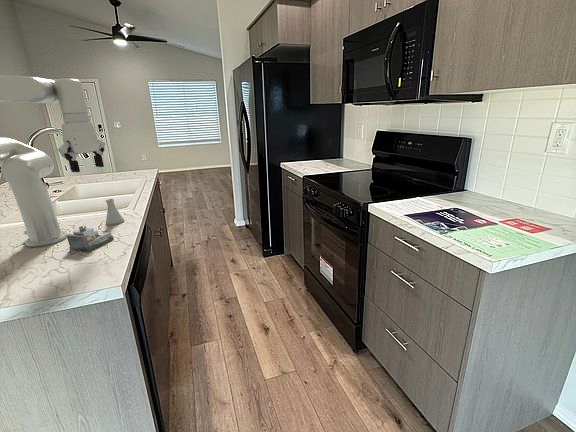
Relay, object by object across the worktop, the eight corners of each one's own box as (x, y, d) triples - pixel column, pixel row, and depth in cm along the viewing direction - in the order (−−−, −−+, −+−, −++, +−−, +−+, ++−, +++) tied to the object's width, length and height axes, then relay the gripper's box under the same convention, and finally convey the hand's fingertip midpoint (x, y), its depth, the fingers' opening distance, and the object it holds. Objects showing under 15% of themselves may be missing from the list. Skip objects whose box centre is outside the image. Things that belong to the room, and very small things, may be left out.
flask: (102, 222, 132) (97, 200, 128) (120, 218, 136) (115, 196, 133) (109, 226, 127) (103, 203, 123) (127, 221, 132) (122, 199, 128)
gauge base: (96, 237, 116) (93, 223, 115) (113, 239, 114) (110, 225, 112) (70, 250, 107) (65, 235, 105) (88, 252, 104) (83, 237, 102)
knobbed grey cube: (86, 240, 111) (82, 224, 108) (101, 241, 109) (96, 225, 107) (76, 245, 107) (71, 228, 105) (91, 246, 105) (86, 229, 103)
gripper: (90, 117, 113) (100, 164, 119) (42, 120, 98) (57, 173, 104) (106, 117, 111) (116, 165, 117) (60, 120, 96) (74, 174, 101)
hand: (88, 169), depth 110 cm, fingers open, 9 cm apart
